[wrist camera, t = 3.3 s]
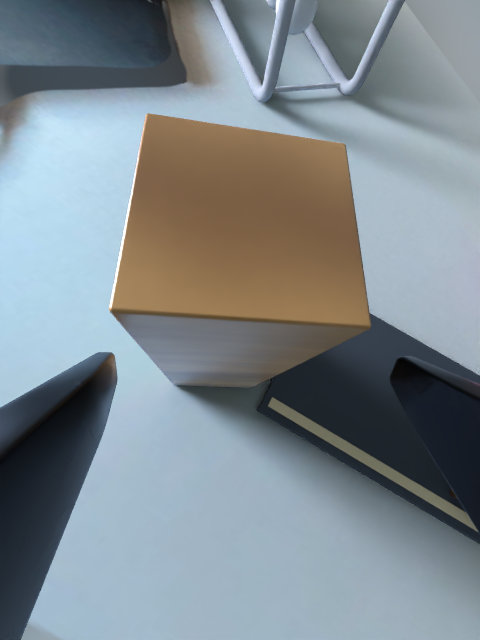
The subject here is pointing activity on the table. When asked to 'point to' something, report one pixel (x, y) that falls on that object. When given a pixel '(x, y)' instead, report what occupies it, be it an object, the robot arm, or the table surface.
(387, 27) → the newton's cradle
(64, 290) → the table surface
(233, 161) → the tan block
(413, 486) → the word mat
